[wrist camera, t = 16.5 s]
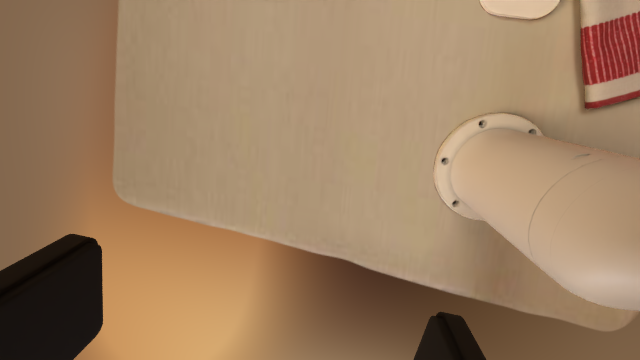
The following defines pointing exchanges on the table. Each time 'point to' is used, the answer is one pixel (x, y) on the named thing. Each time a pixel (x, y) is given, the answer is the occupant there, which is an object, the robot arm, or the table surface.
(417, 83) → the table surface
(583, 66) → the dish towel
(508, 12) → the chain link
